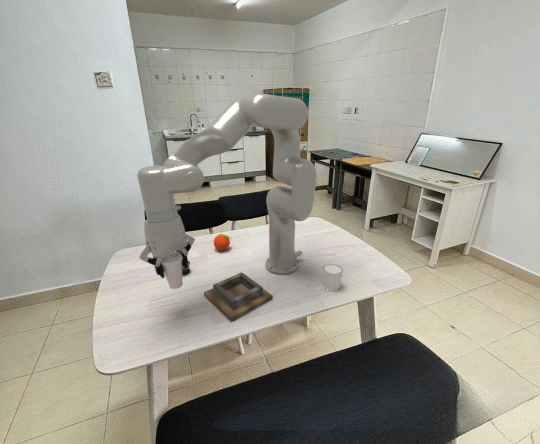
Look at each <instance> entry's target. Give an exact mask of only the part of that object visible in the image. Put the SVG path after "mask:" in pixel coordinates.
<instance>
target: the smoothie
mask: <svg viewBox="0 0 540 444" xmlns="http://www.w3.org/2000/svg"><path fill="white" fill-rule="evenodd" d="M182 259H183V257H182V254H181V253H179V252H176V251H175V252H172V253H170V254H167V255H164V256H162V258H161V262H160V264H161V265H162V266H163V271H164V275H165V278H166V281H167V283H168V286H169V288H170V289H171V290H177V289H179V288H181V287H182V286H183V276H182Z"/></svg>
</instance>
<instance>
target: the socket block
mask: <svg viewBox="0 0 540 444" xmlns="http://www.w3.org/2000/svg"><path fill="white" fill-rule="evenodd" d="M203 296H204V297H205V298H206V299H207V300H208V301H209V302H210V303H211V304H212V305H213V306H214V307H215V308H217V310H218V311H219V312H220V313H222V314H223V315H224V317H225V318H227V320H229V321H230V322H231V323H232V321H233V322H234V321H236V320H238V319H240V318H241V317H243V316H245V315H247V314H249V313H251V312H252V311H254V310H256V309H258V308H260V307H261V306H263V305H265V304H267V303H269V302H270V301H272V300H273V298H274V297H273V296H274V295H273V294H272V293H270V292H269V291H267V289H265V288H264V287H263V286H262V285H261V284H259V283H257V282H256V281H255V280H253V279H252V278H251V277H249V276H248V275H246V274H245V273H244V272H243V271H241V272H239V273H237V274H235V275H231V276H230V277H228V278H226V279H224V280H221V281H219V282H216V283H214V284H212V288H210V289H208V290H206V291H204V292H203Z"/></svg>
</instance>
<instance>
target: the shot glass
mask: <svg viewBox="0 0 540 444" xmlns="http://www.w3.org/2000/svg"><path fill="white" fill-rule="evenodd" d="M343 272H344V269H343V268H342V266H340V265H338V264H335V263H326V264H324V265H323V266H322V287H323V286H324V287H323V288H324V289H325V288H326V289H328V290H327V291H329V290H336V289H338V288H339V289H340V288H341V287H340V286H341V283H342V277H343V274H344V273H343ZM326 289H325V290H326ZM339 289H338V290H339ZM336 291H337V290H336Z"/></svg>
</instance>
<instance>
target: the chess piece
mask: <svg viewBox="0 0 540 444" xmlns="http://www.w3.org/2000/svg"><path fill="white" fill-rule="evenodd" d="M175 252H179V253H180V250H178V251H175ZM190 264H191V261H190V260H188V263H187V266H188V268H184V267H183V266H182V277H184V276H187V275H189V274H190V273H191V269H190Z"/></svg>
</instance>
